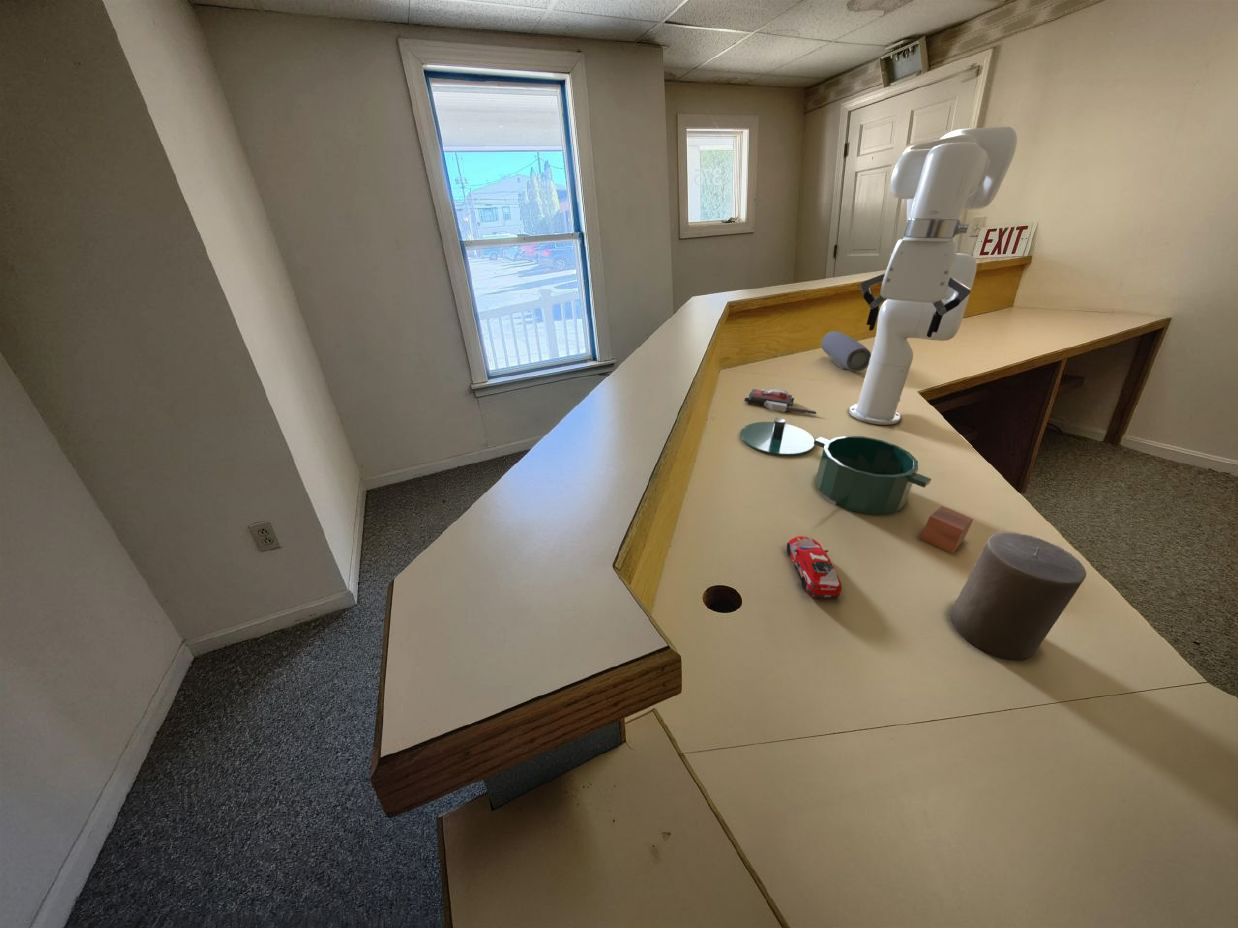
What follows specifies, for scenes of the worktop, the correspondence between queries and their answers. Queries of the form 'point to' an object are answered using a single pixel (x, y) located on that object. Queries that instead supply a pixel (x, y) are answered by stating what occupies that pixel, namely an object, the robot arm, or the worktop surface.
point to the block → (946, 529)
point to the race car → (814, 568)
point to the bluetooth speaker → (846, 351)
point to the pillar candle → (1016, 594)
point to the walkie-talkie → (774, 400)
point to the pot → (866, 474)
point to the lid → (777, 438)
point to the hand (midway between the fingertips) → (899, 332)
